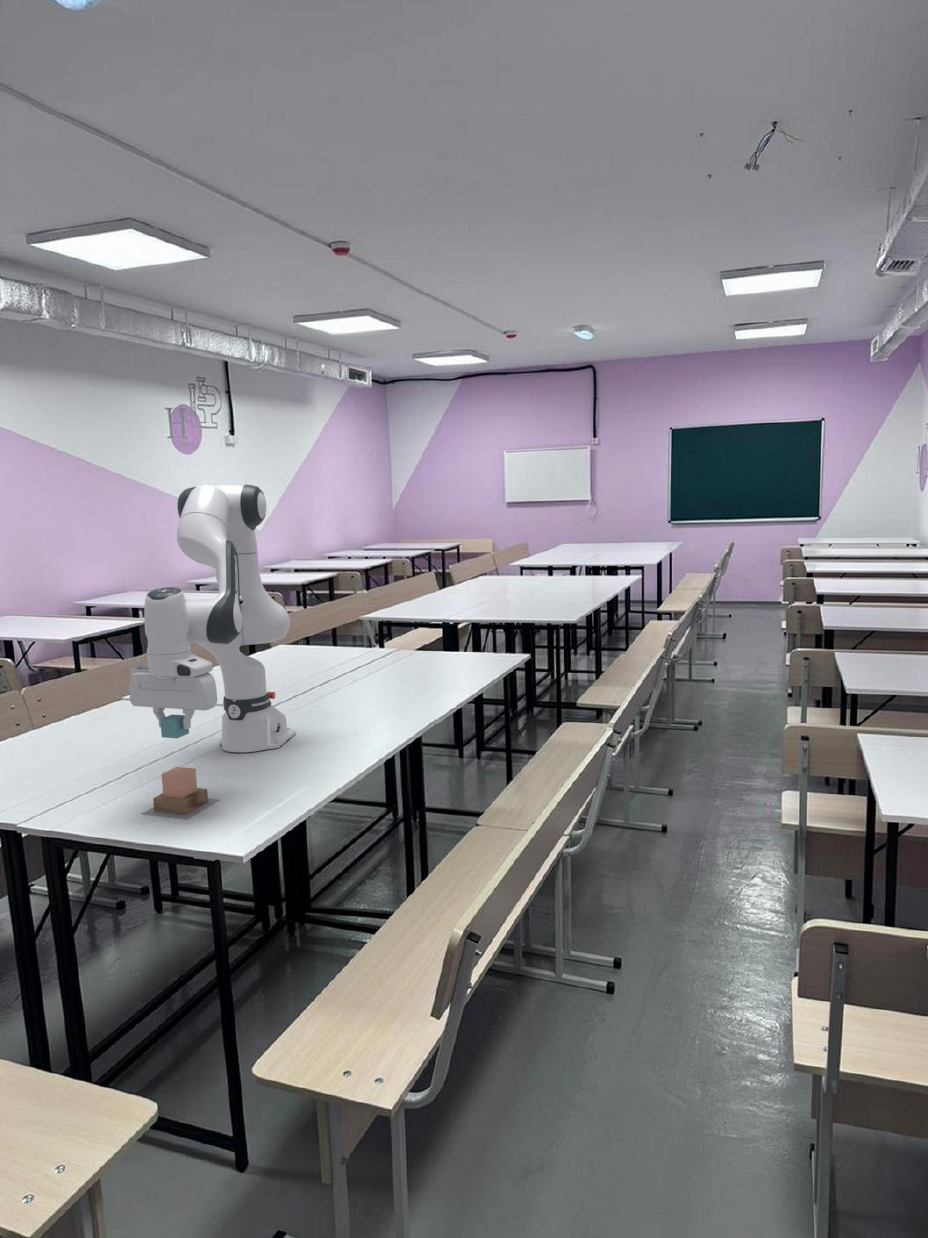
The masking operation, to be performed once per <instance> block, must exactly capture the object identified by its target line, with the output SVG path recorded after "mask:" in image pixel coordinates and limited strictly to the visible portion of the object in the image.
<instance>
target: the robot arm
mask: <svg viewBox="0 0 928 1238" xmlns="http://www.w3.org/2000/svg"><path fill="white" fill-rule="evenodd" d="M177 512H178V516H179V522H178V525H177V530H176V531H177V532H176V542H177V545H178V546H179V548H180V550H181V552H182V553H183V554H184V555H185V556H187V557H188V558H189V559H191V561H194V562H195V563H198V564H201V565H205V566H208V567H211V568H214V569H215V577H216V582H217V584H218V595H217V596H215V597H213V598H208V599H205V598H204V599H203V598H202V599H189V598H187V599H186V597H185V594H184V591H183V589H182V588H178V587H173V586H169V587H159V588H155V589H153V590H150V591H149V592H148V593H147V594H146V595H145V600H144V609H143V610H144V612H143V615H144V616H143V619H144V633H145V636H146V638H147V648H146V657H147V658H146V659H147V663H135V664H134V665H133V666H132V667H131V668H130V673H129V674H130V679H129V702H130V704H131V705H132V706H133V707H138V708H139V707H143V708H152V711H153V714H154V716H155V718H156V719H157V720H158V727H159V728H160V729H161V722H160V719H162V718H164V717H167V716H166V715H165V712H164V711H165V710H166V709H173V710H174V709H176V710H182V715H185V717H184V719H183V720H182V721H180V725H181V726H180V728H181V729H189V730H190V729H191V727H192V723H191V721H192V719H193V716H194V714H195V711H208V710H211V709H214V708H215V707H216V705H217V703H218V693H217V684H216V680H215V678H214V676H213V674H212V673H210V672H213V669H214V668H213V667H214V666H213V663H212V661H210V660H207V659H205V658H202V657H201V656H197V655H196V654H193V653H192V651H191V650H192V649H191V645H190V644H198V645H199V646H201V647H202V648H204V649H205V650H207V651H208V652H209V653H210V654H211V655H212V656H213V657H214V658H215V659H216V661H217V663H218V665H219V667H220V671H221V675H222V681H223V688H224V689H223V690H224V696H223V701H222V703H223V711H225V712H224V713H223V714H222V718H221V720H222V721H221V723H222V725H221V739H218V744H219V745H220V746H221V748H222V750H224V751H225V752H228V753H255V752H260V751H264V750H273V749H279V748H280V746H281V745H282V746H284V744H285V743H287V742H288V741H289V740H290V739H291V738H293V737H294V736H295V735H296V733H297V732H296V730H295V729H293V728H289V727H288V725H287V724H288V723H287V717H286V715H285V714H284V713H283V712H281V711H280V710H279V709H278V708H276V707H275V706H273V705H272V701H271V700H275V698H276V692H275V691H267V680H266V679H267V678H266V668H265V666H264V664H263V663H262V662H261V661H259V660H258V659H256V658H254V657H252V656H248V655H245V654H244V653H243V652H241V650H240V647H242V646H250V645H260V644H269V643H272V642H273V643H274V642H278V641H280V640H283V639H284V638H285V637H286V636H287V634H288V633H289V630H290V628H291V627H290V626H291V619H290V615H289V613H288V611H287V610H286V608H285V607H284V606H283V605H281V604H280V603H278V602H277V601H275V600H274V599H273V598H272V597H271V596H270V594H268V592H267V590H266V588H265V587H264V584H263V582H262V578H261V573H260V567H259V556H258V555H259V554H258V543H257V538H256V532H255V530H256V528H257V526H259V525H261V524H262V522H264V520H265V517H266V513H267V501H266V496H265V494H264V492H263V491H262V489H261V488H260V487H259V486H256V485H252V484H244V485H241V484H228V483H227V484H226V483H225V484H224V483H223V484H222V483H221V484H218V485H213V484H201V485H198V486H192V487H188V488H185V489H184V490H183V491H182V492H181V493H180V494H179V496H178V498H177ZM241 599H242V602H241ZM289 738H290V739H289ZM288 739H289V740H288ZM287 740H288V741H287ZM286 741H287V742H286ZM282 746H281V747H282Z"/></svg>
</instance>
